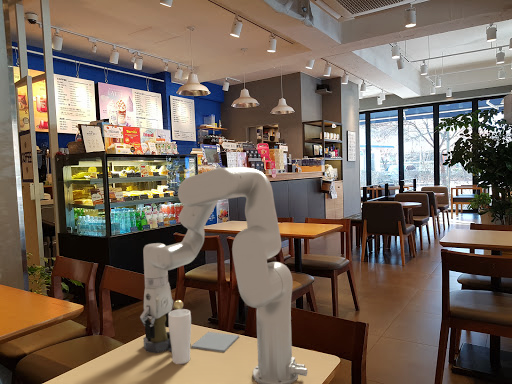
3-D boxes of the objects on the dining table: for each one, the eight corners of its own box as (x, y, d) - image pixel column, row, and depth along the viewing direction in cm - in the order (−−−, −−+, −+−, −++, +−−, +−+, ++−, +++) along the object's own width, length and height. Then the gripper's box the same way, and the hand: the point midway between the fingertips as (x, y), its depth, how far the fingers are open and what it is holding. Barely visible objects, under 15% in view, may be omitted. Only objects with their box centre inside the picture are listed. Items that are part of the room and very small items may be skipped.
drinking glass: (187, 366, 116) (185, 317, 116) (166, 365, 118) (164, 316, 117) (195, 356, 123) (193, 309, 122) (175, 355, 124) (173, 308, 124)
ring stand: (194, 343, 132) (192, 296, 131) (178, 356, 123) (176, 305, 122) (155, 338, 138) (153, 293, 137) (138, 350, 129) (136, 301, 128)
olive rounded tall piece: (172, 345, 132) (170, 313, 131) (156, 351, 127) (155, 318, 127) (162, 340, 136) (160, 309, 135) (146, 346, 131) (145, 314, 131)
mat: (239, 337, 136) (239, 335, 136) (224, 352, 125) (224, 350, 125) (208, 333, 141) (208, 331, 141) (191, 347, 129) (191, 345, 129)
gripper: (150, 289, 121) (152, 344, 122) (180, 275, 137) (182, 323, 138) (130, 287, 124) (132, 341, 124) (161, 273, 140) (164, 321, 141)
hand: (158, 332), depth 131 cm, fingers open, 8 cm apart
